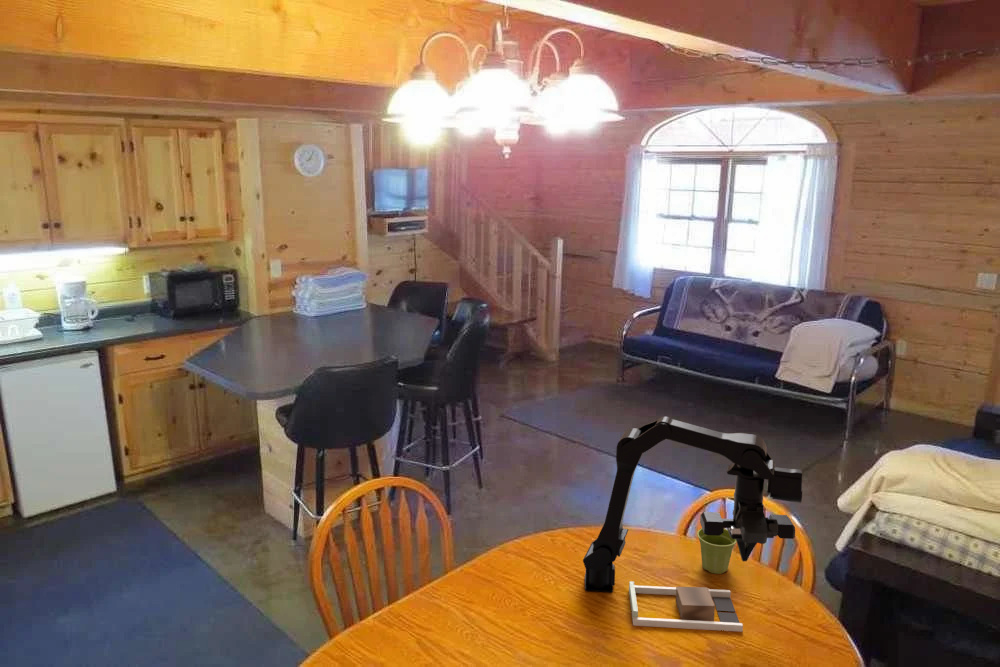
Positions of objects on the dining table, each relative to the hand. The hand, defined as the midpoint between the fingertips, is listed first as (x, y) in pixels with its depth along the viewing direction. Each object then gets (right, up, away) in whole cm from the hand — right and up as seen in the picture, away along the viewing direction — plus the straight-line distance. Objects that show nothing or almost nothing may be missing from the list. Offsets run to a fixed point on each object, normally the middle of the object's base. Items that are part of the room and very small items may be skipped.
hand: (744, 560), depth 151 cm
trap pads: (-3, -13, +3) cm, 13 cm away
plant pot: (0, -9, +21) cm, 23 cm away
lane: (-12, -13, +4) cm, 18 cm away
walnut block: (-10, -13, +4) cm, 17 cm away
